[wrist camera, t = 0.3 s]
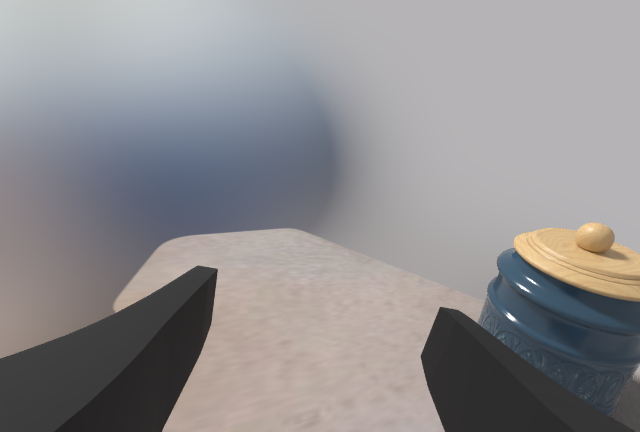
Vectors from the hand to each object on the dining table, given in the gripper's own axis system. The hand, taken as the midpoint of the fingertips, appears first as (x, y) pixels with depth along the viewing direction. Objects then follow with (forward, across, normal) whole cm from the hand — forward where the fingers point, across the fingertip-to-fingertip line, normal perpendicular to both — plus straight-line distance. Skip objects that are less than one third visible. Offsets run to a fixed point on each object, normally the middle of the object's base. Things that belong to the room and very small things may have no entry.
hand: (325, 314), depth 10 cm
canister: (+18, -27, +16) cm, 36 cm away
